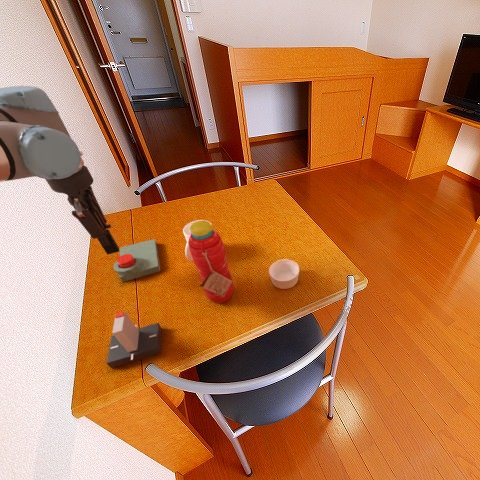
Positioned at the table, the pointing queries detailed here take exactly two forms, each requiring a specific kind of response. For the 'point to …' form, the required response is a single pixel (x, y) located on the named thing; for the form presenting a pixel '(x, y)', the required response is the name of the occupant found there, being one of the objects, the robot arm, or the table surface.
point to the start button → (126, 261)
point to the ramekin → (284, 273)
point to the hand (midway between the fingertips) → (113, 251)
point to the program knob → (126, 331)
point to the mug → (187, 235)
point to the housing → (139, 260)
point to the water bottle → (211, 261)
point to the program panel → (146, 347)
